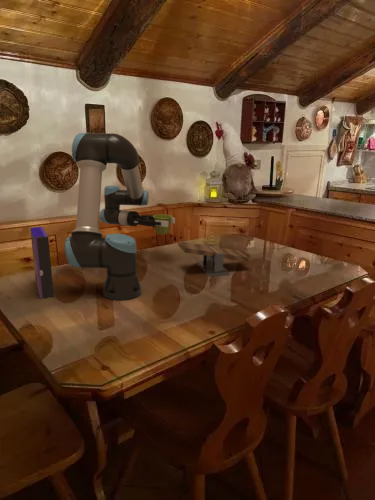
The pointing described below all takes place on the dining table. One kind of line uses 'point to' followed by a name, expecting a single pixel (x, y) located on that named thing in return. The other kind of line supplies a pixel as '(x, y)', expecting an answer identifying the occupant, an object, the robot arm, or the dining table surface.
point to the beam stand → (213, 265)
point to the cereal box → (42, 262)
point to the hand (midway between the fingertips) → (171, 222)
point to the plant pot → (161, 229)
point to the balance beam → (211, 251)
